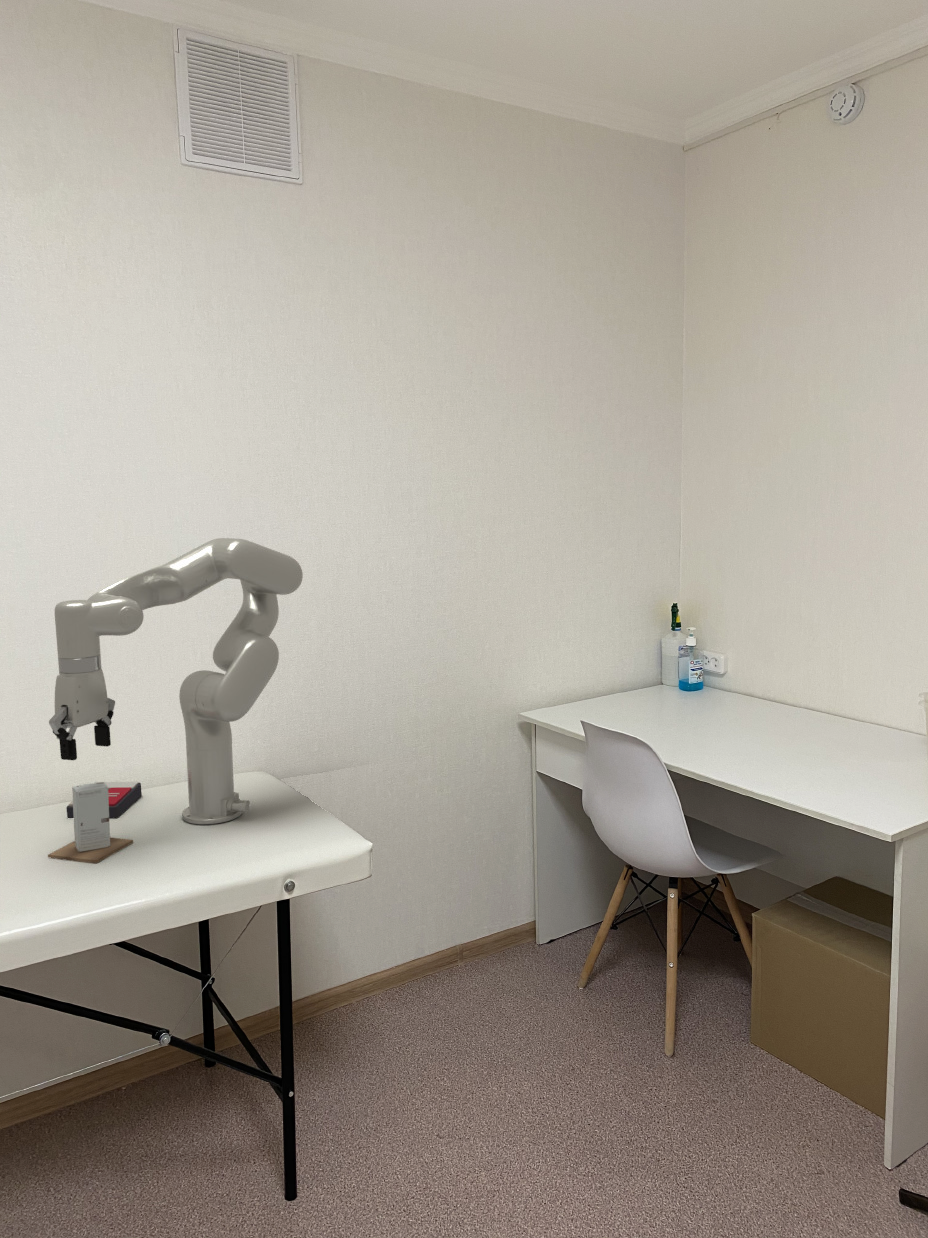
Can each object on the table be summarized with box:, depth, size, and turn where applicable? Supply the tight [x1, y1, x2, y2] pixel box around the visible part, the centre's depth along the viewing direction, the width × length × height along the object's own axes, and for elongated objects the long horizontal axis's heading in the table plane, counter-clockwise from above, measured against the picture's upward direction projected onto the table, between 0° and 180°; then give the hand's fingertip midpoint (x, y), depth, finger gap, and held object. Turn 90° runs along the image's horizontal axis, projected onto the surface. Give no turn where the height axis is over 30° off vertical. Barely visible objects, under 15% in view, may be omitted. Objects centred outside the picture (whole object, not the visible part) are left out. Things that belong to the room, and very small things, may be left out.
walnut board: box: [47, 836, 134, 864], centre depth 179 cm, size 11×11×1 cm
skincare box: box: [71, 781, 111, 852], centre depth 179 cm, size 6×4×12 cm
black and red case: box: [65, 781, 143, 820], centre depth 205 cm, size 11×4×15 cm
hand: (86, 752), depth 177 cm, fingers open, 9 cm apart
